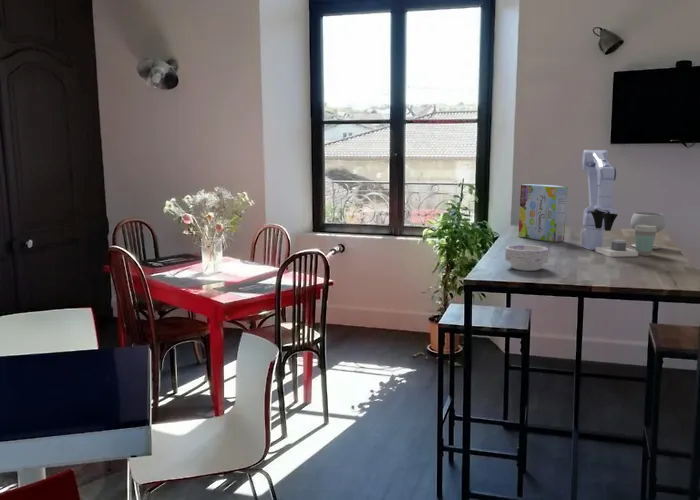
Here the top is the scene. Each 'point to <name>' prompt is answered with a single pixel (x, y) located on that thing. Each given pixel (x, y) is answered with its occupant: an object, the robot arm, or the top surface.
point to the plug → (618, 245)
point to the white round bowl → (526, 257)
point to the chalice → (648, 222)
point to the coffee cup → (645, 239)
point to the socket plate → (616, 252)
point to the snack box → (542, 212)
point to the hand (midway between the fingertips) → (602, 229)
